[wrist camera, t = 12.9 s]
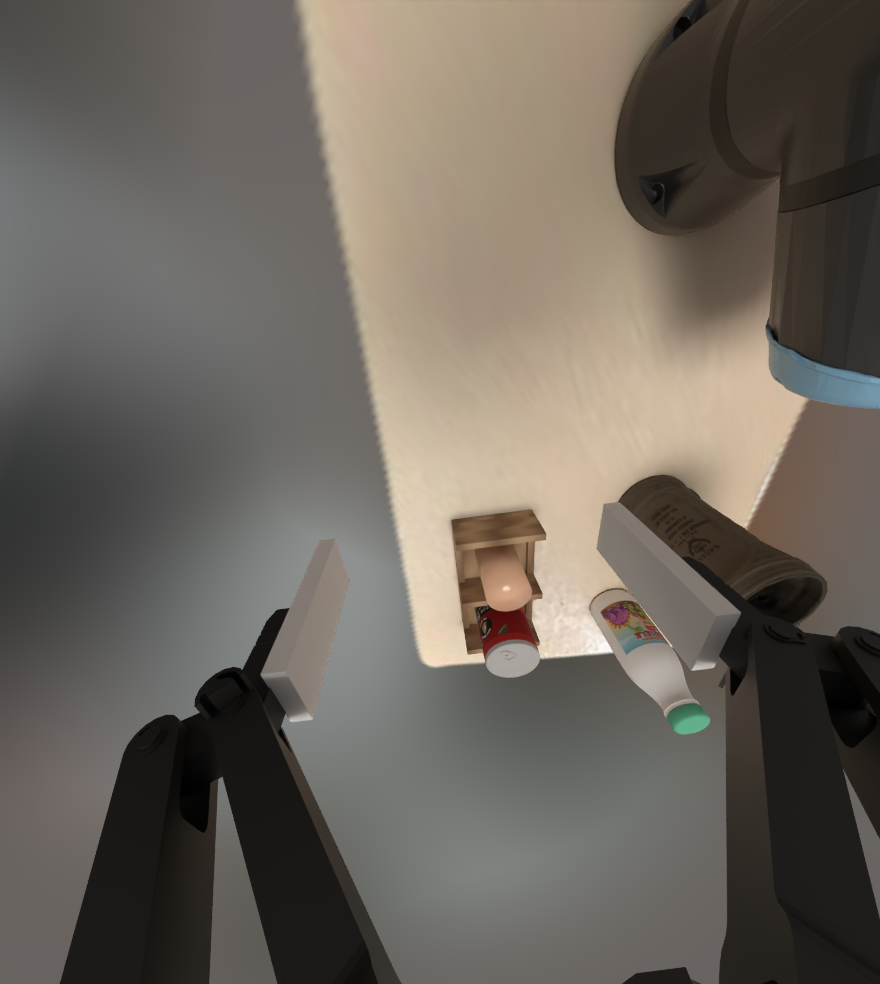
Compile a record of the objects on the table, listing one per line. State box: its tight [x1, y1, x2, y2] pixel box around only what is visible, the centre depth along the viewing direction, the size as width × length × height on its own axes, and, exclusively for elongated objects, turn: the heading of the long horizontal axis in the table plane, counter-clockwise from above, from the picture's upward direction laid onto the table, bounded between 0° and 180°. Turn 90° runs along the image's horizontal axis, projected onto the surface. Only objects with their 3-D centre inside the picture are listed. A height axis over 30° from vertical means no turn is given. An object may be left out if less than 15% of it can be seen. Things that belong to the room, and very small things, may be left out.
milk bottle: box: [590, 589, 710, 734], centre depth 49 cm, size 8×8×20 cm
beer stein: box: [620, 476, 827, 628], centre depth 41 cm, size 15×11×20 cm
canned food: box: [475, 605, 540, 678], centre depth 50 cm, size 8×8×11 cm
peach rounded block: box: [475, 544, 532, 611], centre depth 45 cm, size 6×6×9 cm
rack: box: [452, 510, 546, 654], centre depth 50 cm, size 12×23×6 cm, turn 6°
